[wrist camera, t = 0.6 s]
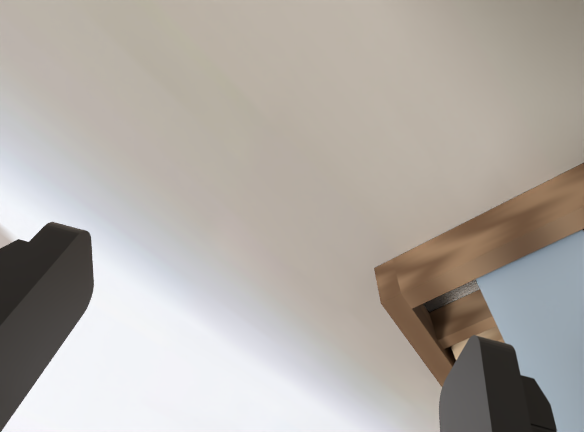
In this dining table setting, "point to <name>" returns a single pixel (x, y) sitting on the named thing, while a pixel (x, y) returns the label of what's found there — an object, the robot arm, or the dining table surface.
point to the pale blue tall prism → (545, 322)
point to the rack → (473, 266)
